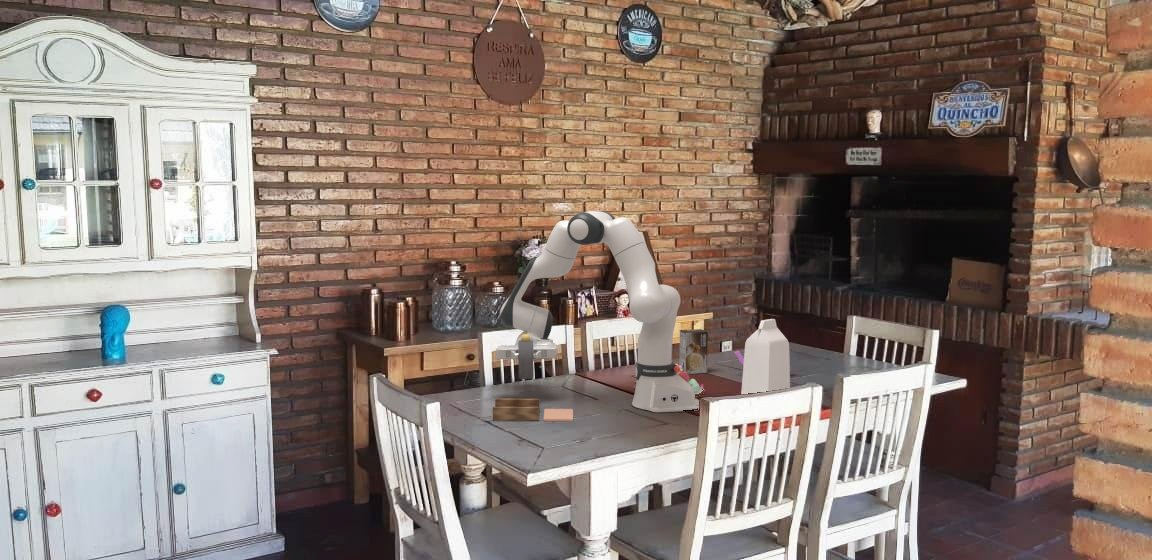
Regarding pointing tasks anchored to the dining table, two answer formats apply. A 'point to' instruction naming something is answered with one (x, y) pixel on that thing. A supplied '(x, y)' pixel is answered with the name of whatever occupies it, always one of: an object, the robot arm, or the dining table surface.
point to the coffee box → (693, 351)
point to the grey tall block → (525, 357)
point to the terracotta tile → (558, 414)
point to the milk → (766, 360)
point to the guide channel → (516, 409)
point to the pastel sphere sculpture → (691, 382)
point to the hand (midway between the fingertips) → (525, 356)
